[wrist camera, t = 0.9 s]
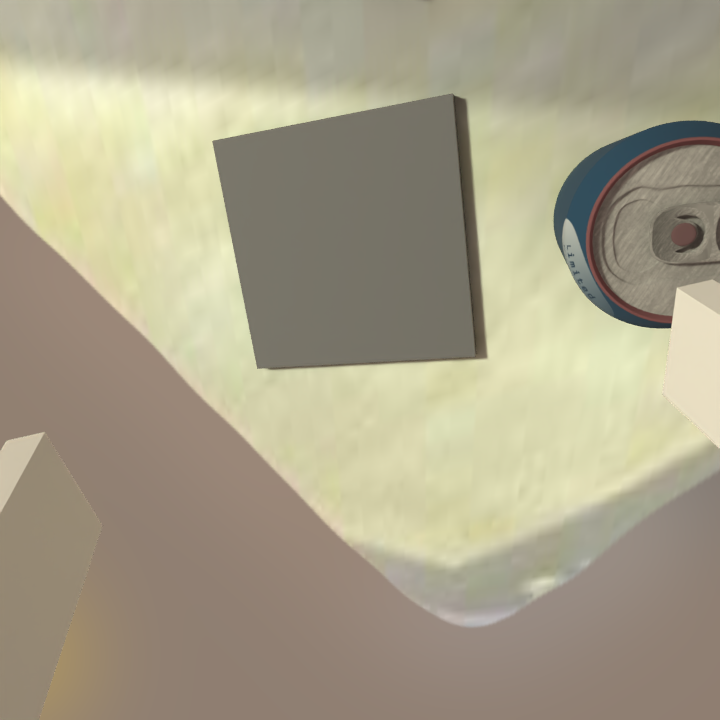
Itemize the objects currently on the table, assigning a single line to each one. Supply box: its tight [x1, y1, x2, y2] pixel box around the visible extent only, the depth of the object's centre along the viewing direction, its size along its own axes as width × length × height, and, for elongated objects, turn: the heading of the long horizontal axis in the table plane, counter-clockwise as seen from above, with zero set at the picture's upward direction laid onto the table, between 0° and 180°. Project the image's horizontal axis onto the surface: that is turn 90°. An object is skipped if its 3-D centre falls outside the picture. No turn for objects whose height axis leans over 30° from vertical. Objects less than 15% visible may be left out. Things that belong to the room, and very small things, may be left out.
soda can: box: [554, 121, 720, 328], centre depth 23 cm, size 7×7×12 cm
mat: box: [213, 94, 476, 369], centre depth 33 cm, size 14×14×1 cm
